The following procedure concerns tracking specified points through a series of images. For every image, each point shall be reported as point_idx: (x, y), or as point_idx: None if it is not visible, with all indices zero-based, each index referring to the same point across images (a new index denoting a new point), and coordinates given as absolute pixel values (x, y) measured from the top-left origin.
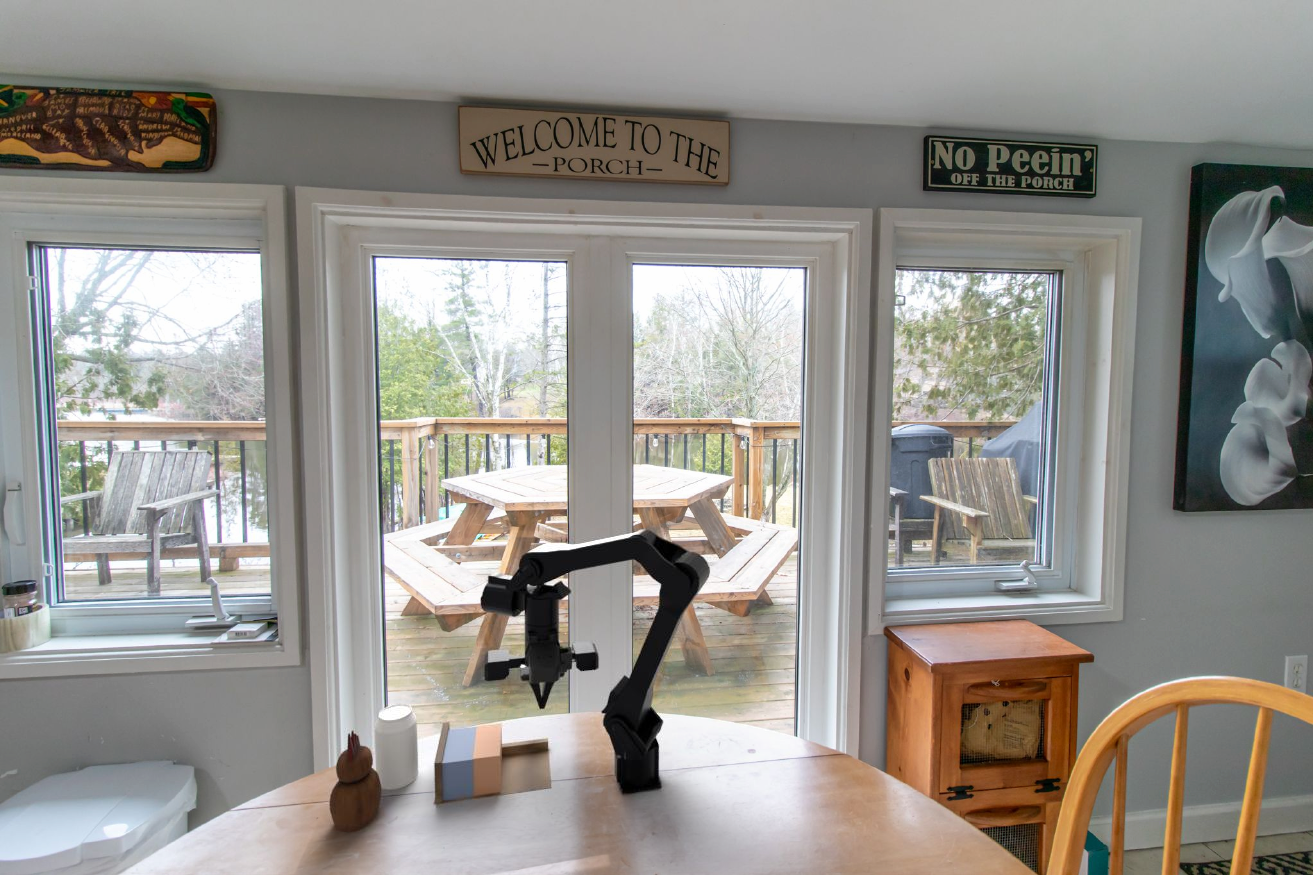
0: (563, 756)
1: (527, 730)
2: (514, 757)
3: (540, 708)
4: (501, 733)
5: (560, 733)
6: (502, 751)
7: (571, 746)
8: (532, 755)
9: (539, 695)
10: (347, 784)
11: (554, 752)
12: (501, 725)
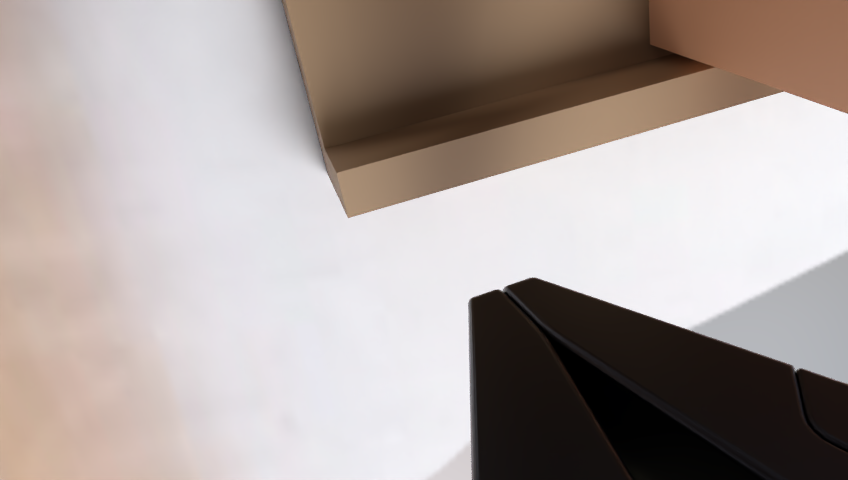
0: (191, 126)
1: None
2: (564, 40)
3: (526, 280)
4: (803, 45)
5: (282, 377)
6: (665, 67)
7: (159, 251)
8: (435, 67)
9: (665, 379)
10: None
11: (277, 170)
12: (846, 102)
